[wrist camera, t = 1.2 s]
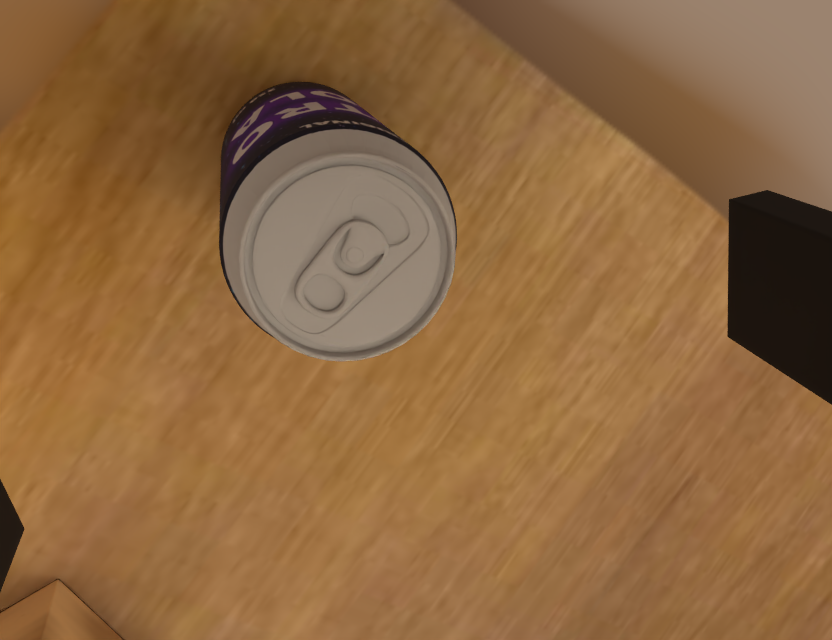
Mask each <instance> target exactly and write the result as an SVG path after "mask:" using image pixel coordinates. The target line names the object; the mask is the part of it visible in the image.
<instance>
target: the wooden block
mask: <svg viewBox="0 0 832 640" xmlns="http://www.w3.org/2000/svg"><path fill="white" fill-rule="evenodd" d="M0 640H123V639H122V638H121V637H120V636H119V635H117V634H116V633H115V632H114V631H113V630H112V629H111V628H110V627H109V626H108V625H107V624H106V623H105V622H104V621H102V620H101V619H100V618H99V617H98V616H97V615H96V614H95V613H94V612H93V611H92V610H91V609H90V608H89V607H88V606H86V605H85V604H84V603H83V602H82V601H81V600H80V599H79V598H78V597H77V596H76V595H75V594H74V593H73V592H71V591H70V590H69V589H68V588H67V587H66V586H65V585H64V584H63V583H62V582H61V581H60V580H56V581H54V582H52V583H51V584H49V585H47V586H46V587H44V588H42V589H40V590H39V591H37V592H35V593H34V594H32V595H30V596H28V597H27V598H25V599H23V600H22V601H20V602H18V603H17V604H15V605H13V606H11V607H10V608H8V609H6V610H5V611H3V612H1V613H0Z"/></svg>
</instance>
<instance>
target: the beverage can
mask: <svg viewBox="0 0 832 640" xmlns="http://www.w3.org/2000/svg"><path fill="white" fill-rule="evenodd" d="M456 244H457V227H456V218H455V213H454V209H453V205H452V201H451V199H450V196H449V193H448V191H447V189H446V187H445V185H444V183H443V181H442V179H441V178H440V176H439V175H438V173H437V172H436V170H435V169H434V168H433V167H432V165H431V164H430V163H429V162H428V161H427V160H426V159H425V158H424V157H423V156H422V155H421V154H420V153H419V152H418V151H417V150H415V149H414V148H413V147H412V146H410V145H409V144H408V143H406V142H405V141H404V140H403V139H401V138H400V137H399V136H397V135H396V134H395V133H394V132H392V131H391V130H390V129H388V128H387V127H386V126H385V125H383V124H382V123H381V122H379V121H378V120H377V119H376V118H374V117H373V116H372V115H370V114H369V113H368V112H367V111H365V110H364V109H363V108H361V107H360V106H359V105H358V104H356V103H355V102H354V101H352V100H351V99H350V98H349V97H347V96H346V95H344V94H342V93H341V92H339V91H337V90H335V89H333V88H330V87H327V86H325V85H321V84H317V83H311V82H290V83H284V84H280V85H277V86H273V87H271V88H268V89H266V90H264V91H262V92H260V93H259V94H257V95H256V96H254V97H253V98H252V99H250V100H249V101H248V102H247V103H246V104H245V105H244V106H243V107H242V108H241V109H240V110H239V111H238V113H237V114H236V115H235V117H234V118H233V120H232V122H231V123H230V125H229V127H228V129H227V132H226V135H225V138H224V141H223V146H222V152H221V184H220V233H219V249H220V259H221V265H222V269H223V273H224V276H225V279H226V282H227V284H228V287H229V289H230V291H231V293H232V295H233V297H234V298H235V300H236V301H237V303H238V305H239V306H240V307H241V309H242V310H243V311H244V313H245V314H246V315H247V316H248V317H249V318H250V319H251V320H252V321H253V322H254V323H255V324H256V325H257V326H258V327H260V328H261V329H262V330H263V331H265V332H266V333H268V334H269V335H271V336H272V337H274V338H276V339H277V340H278V341H280V342H281V343H283V344H284V345H286V346H288V347H289V348H291V349H293V350H295V351H297V352H300V353H302V354H305V355H307V356H310V357H314V358H318V359H323V360H330V361H356V360H362V359H367V358H372V357H375V356H378V355H381V354H384V353H386V352H389V351H391V350H393V349H395V348H397V347H399V346H400V345H402V344H404V343H405V342H407V341H408V340H409V339H411V338H412V337H414V336H415V335H416V334H417V333H418V332H419V331H421V330H422V329H423V328H424V327H425V326H426V325H427V324H428V323H429V321H430V320H431V319H432V317H433V316H434V315H435V314H436V312H437V311H438V309H439V308H440V306H441V304H442V302H443V301H444V299H445V297H446V294H447V292H448V289H449V287H450V284H451V281H452V276H453V272H454V267H455V254H456Z"/></svg>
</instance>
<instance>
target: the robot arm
mask: <svg viewBox="0 0 832 640" xmlns="http://www.w3.org/2000/svg"><path fill="white" fill-rule="evenodd" d="M728 337H729V338H730V339H732V340H733V341H735V342H736V343H738V344H740V345H741V346H743V347H744V348H746V349H747V350H749V351H750V352H752V353H753V354H755V355H756V356H758V357H759V358H761V359H763V360H764V361H766V362H767V363H769V364H770V365H772V366H773V367H775V368H776V369H778V370H779V371H781V372H782V373H784V374H786V375H787V376H789V377H790V378H792V379H793V380H795V381H796V382H798V383H799V384H801V385H802V386H804V387H805V388H807V389H809V390H810V391H812V392H813V393H815V394H816V395H818V396H819V397H821V398H822V399H824V400H825V401H827V402H828V403H830V404H832V212H831V211H828V210H825V209H822V208H819V207H816V206H813V205H810V204H807V203H804V202H801V201H798V200H795V199H792V198H789V197H786V196H783V195H780V194H777V193H774V192H771V191H768V190H766V191H762V192H758V193H754V194H750V195H745V196H741V197H738V198H733V199H729V256H728ZM23 531H24V527H23V525H22V523H21V521H20V519H19V517H18V514H17V512H16V510H15V508H14V506H13V504H12V502H11V500H10V498H9V496H8V494H7V492H6V490H5V488H4V486H3V484H2V482H1V480H0V591H1V589H2V586H3V584H4V581H5V578H6V576H7V573H8V571H9V568H10V565H11V563H12V560H13V557H14V555H15V552H16V550H17V547H18V544H19V542H20V539H21V537H22V534H23Z"/></svg>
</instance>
